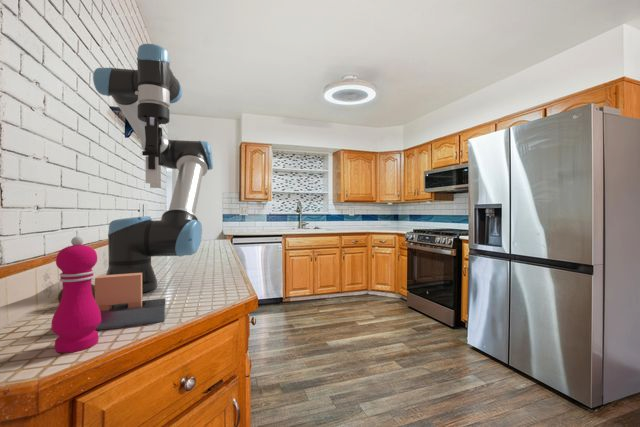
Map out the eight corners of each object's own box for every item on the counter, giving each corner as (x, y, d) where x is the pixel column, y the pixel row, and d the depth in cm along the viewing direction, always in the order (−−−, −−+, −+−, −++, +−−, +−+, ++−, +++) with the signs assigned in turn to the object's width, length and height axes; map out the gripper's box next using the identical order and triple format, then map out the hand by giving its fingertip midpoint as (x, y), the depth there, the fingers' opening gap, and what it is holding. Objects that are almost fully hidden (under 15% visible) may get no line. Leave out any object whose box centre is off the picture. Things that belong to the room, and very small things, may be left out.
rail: (74, 323, 68) (74, 307, 68) (165, 312, 76) (165, 298, 76) (63, 334, 62) (63, 317, 62) (164, 321, 69) (164, 305, 69)
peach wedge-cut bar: (98, 320, 68) (98, 275, 68) (142, 315, 72) (142, 272, 72) (94, 325, 66) (94, 278, 66) (140, 319, 69) (140, 274, 69)
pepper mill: (74, 356, 52) (74, 238, 52) (40, 352, 54) (40, 237, 54) (110, 339, 59) (110, 235, 60) (79, 336, 61) (80, 235, 61)
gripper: (142, 117, 92) (142, 188, 92) (131, 86, 69) (131, 180, 69) (170, 121, 95) (170, 189, 95) (168, 91, 73) (168, 181, 72)
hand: (153, 185), depth 82 cm, fingers open, 13 cm apart
